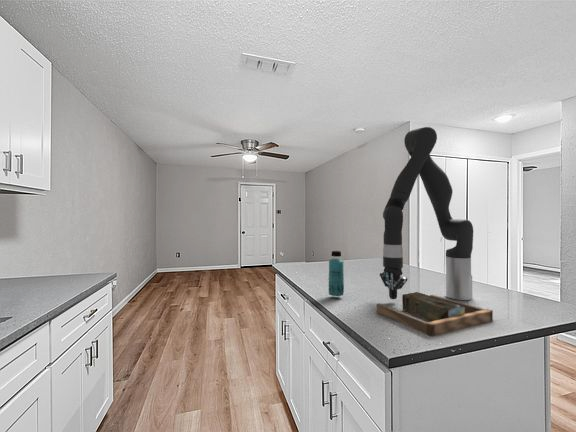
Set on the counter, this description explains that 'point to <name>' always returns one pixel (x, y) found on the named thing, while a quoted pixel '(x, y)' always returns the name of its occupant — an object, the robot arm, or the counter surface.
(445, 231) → the robot arm
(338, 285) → the beverage bottle
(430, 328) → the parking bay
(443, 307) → the beverage carton
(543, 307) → the counter surface
